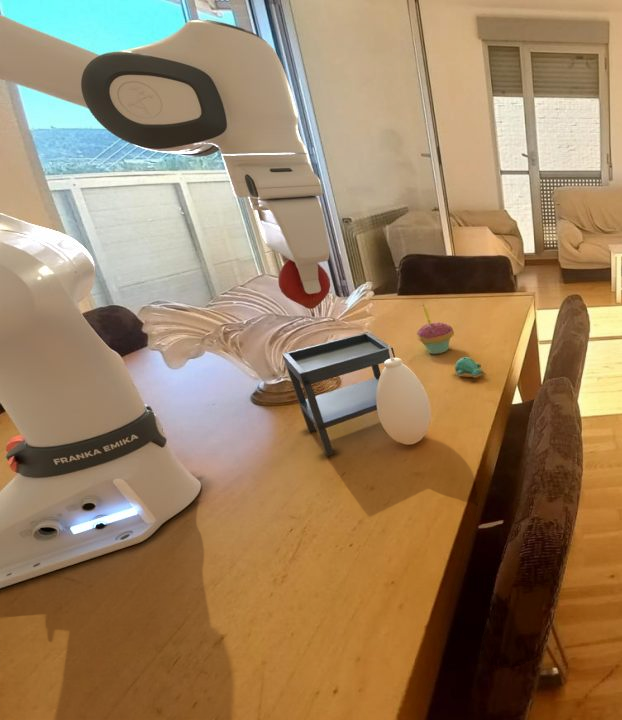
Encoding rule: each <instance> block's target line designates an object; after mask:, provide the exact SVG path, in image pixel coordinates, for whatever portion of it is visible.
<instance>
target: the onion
mask: <svg viewBox="0 0 622 720" xmlns="http://www.w3.org/2000/svg"><path fill="white" fill-rule="evenodd" d="M317 265H318V280H319V283H320V287H321V291H320V292H318V293H313V294H308V293H306V292H305V291H304V290H303V288H302V284H301V281H300V279H301V278H300V275H299V271H298V268H297V267H296V264H295V262H293V261H292V260H290V259H289V260H288V261H287V262H286V263H285V264H284V263H283V265H282V267H281V269H280V271H279V274H278V278H277V281H278V282H277V283H278V287H279V289H280V291H281V293H282V294H283V295H284V296H285V297H286V298H287V299H289V300H291V301H292V302H295V304H296V303H297V304H298V305H300V306H303V307H304V308H306V309H308V310H314V309H315V308H317V307H318V306H319V305H320V304H321V303H322V302H323V301H324V300H325V299H326V297H327V295H328V294H329V293H330V290H331V279H330V277H329V275H328V273H327V271H326V270H325V269H324V268H323V267H322V266H321V265H320V264H319V263H317Z"/></svg>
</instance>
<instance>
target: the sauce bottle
mask: <svg viewBox="0 0 622 720" xmlns="http://www.w3.org/2000/svg"><path fill="white" fill-rule="evenodd" d="M390 346H391V345H390V344H388V349H389V354H390V359H388V360H386V361H385V362H384V363H383V365H384V367H383V369H382V371H380V373H381V375H380V378H379V381H378V386H377V394H376V404H377V410H376V411H377V415H378V419H379V421H380V423H381V426H382V427H383V430H384V431H385V432H386V434H388V436H389V437H390V438H391V439H392V440H394V441H395V442H397V443H400V444H403V445H414V444H417V443H418V442H420V441H421V440H422V439H423V437H425V436H426V435H427V433H428V432H429V429H430V426H431V420H432V408H431V403H430V398H429V395H428V394H427V392H426V389H425V388H424V385H423V384H422V382H421V381H420V379H419V377H418V376H417V374H415V373H414V371H413V370H411V368H410V367H409V366H407V365H406V364H404V363H403V360H402V358H400V357H395V358H394V357H393V354H392V350H391V347H392V346H391V347H390Z"/></svg>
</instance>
